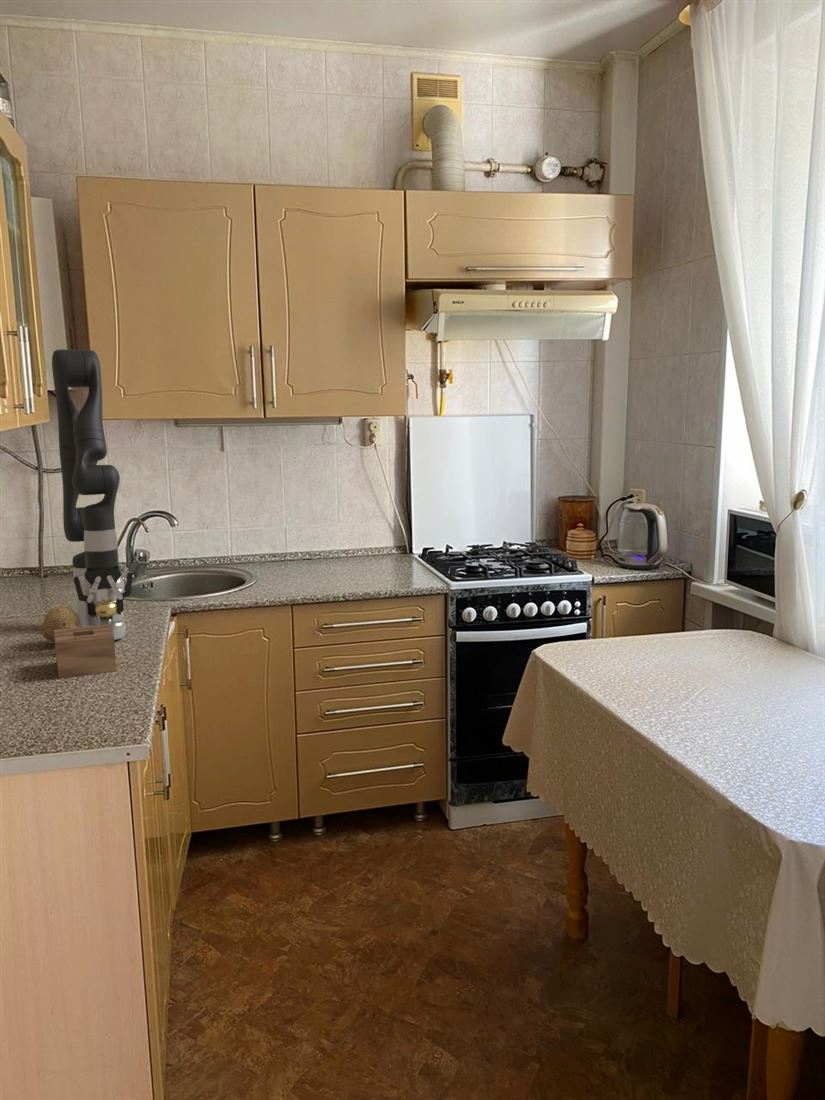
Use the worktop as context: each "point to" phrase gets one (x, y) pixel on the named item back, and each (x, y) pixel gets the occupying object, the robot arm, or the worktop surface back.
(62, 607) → the natural sponge
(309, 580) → the worktop surface
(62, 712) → the worktop surface
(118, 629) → the plastic bottle
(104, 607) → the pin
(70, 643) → the block
